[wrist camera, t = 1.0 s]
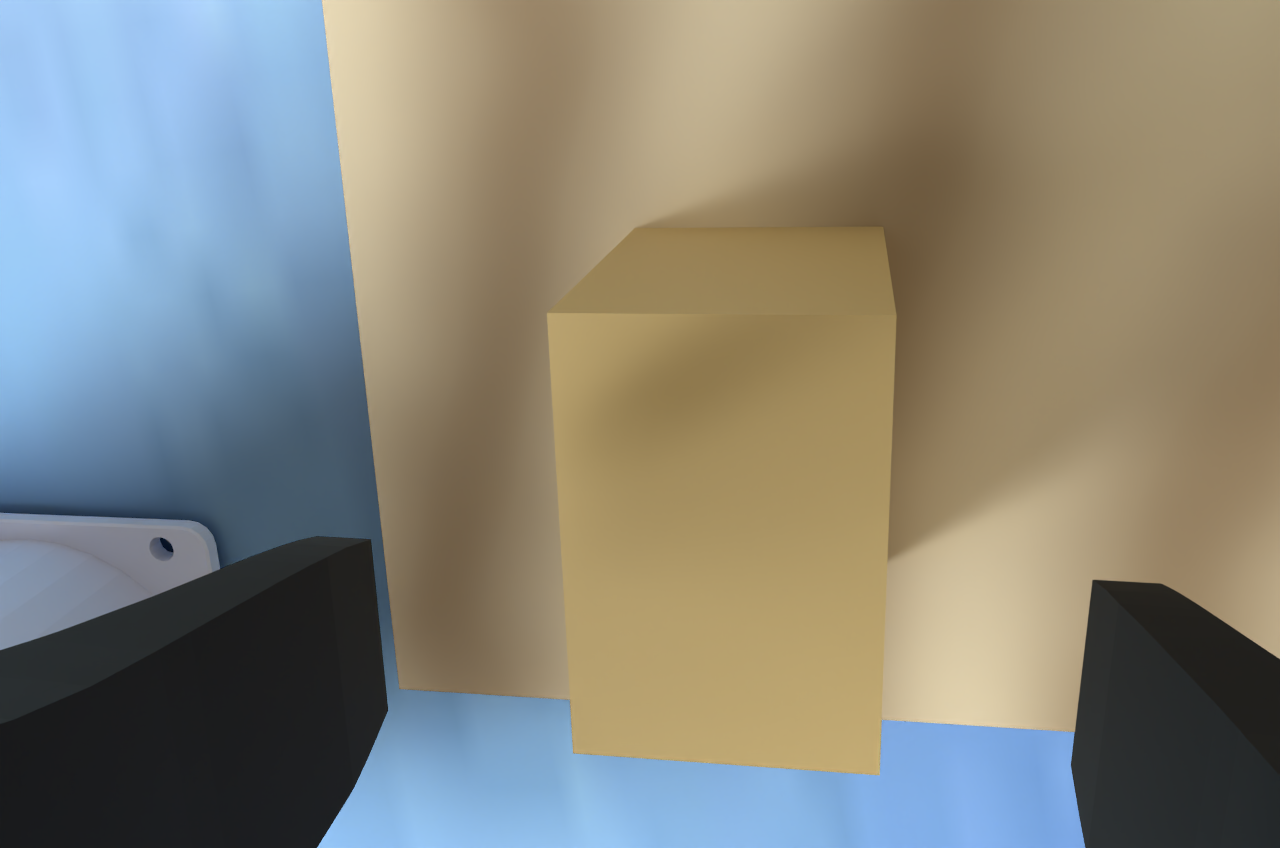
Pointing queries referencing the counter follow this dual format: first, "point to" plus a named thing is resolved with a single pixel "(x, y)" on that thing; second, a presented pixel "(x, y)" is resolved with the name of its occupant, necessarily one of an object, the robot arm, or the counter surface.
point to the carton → (727, 495)
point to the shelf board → (921, 280)
